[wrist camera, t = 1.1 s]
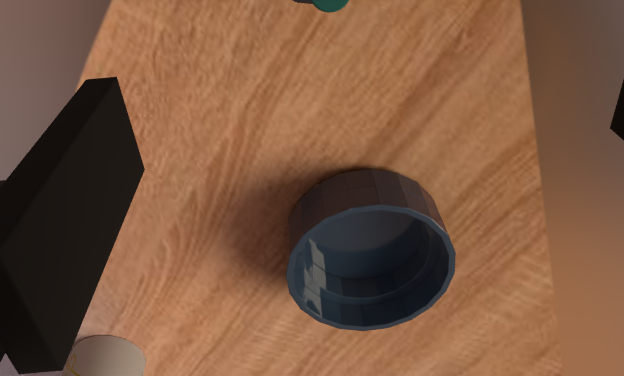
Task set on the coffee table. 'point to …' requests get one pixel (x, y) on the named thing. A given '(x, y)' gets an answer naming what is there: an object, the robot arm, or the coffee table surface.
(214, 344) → the coffee table surface
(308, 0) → the brush pot
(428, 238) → the bowl
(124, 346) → the beige cylinder
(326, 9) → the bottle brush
